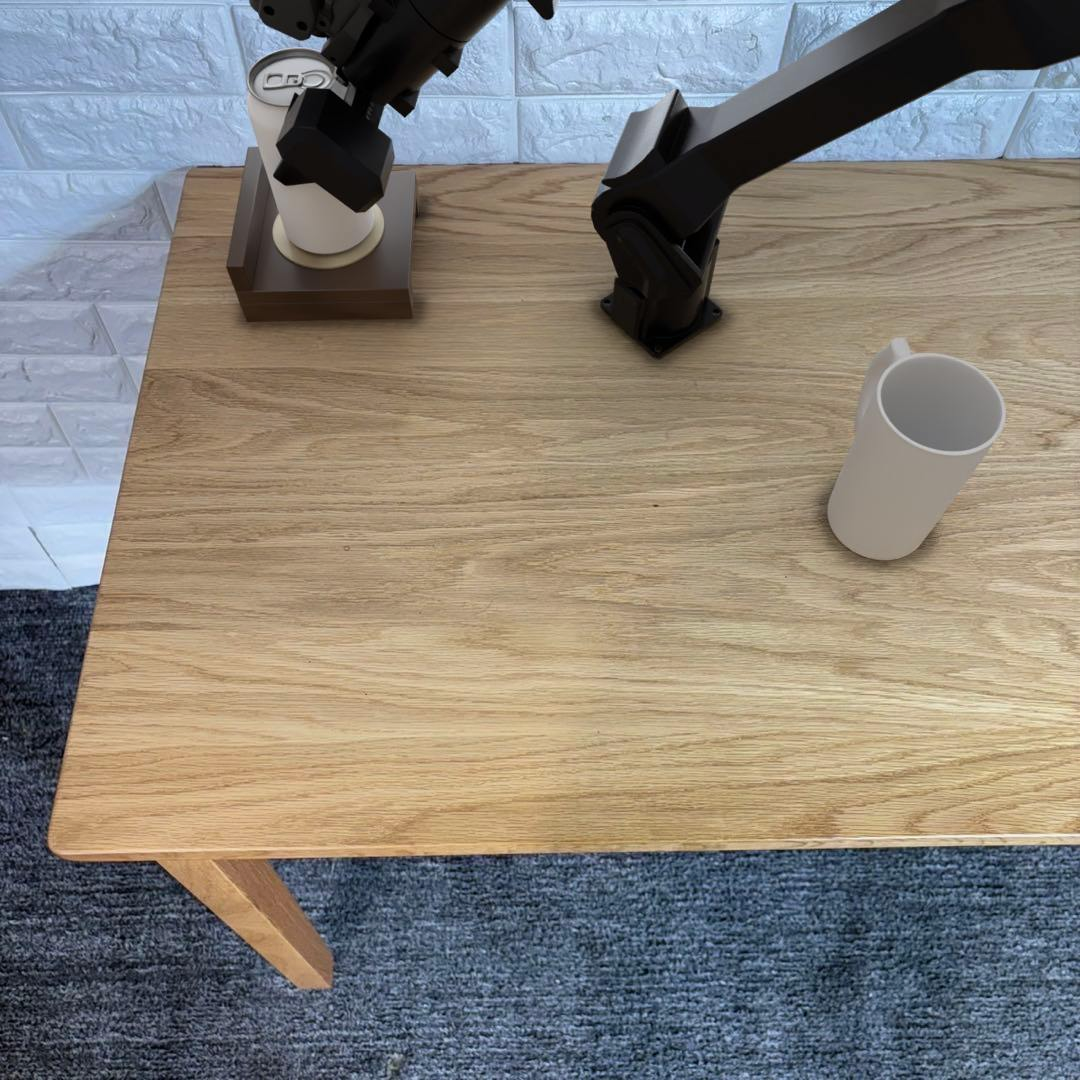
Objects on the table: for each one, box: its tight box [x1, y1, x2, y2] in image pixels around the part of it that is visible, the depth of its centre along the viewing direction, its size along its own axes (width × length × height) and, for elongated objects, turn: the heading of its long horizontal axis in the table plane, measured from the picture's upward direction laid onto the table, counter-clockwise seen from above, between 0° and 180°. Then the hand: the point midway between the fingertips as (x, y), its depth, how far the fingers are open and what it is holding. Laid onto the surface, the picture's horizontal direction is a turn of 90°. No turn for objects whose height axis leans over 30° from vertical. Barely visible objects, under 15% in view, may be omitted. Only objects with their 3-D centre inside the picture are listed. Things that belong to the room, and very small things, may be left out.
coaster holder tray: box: [225, 146, 421, 322], centre depth 72 cm, size 12×12×5 cm
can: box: [245, 46, 374, 255], centre depth 67 cm, size 6×6×12 cm
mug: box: [826, 337, 1007, 561], centre depth 59 cm, size 10×7×12 cm, turn 10°
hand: (291, 147), depth 66 cm, fingers closed on can, 6 cm apart
